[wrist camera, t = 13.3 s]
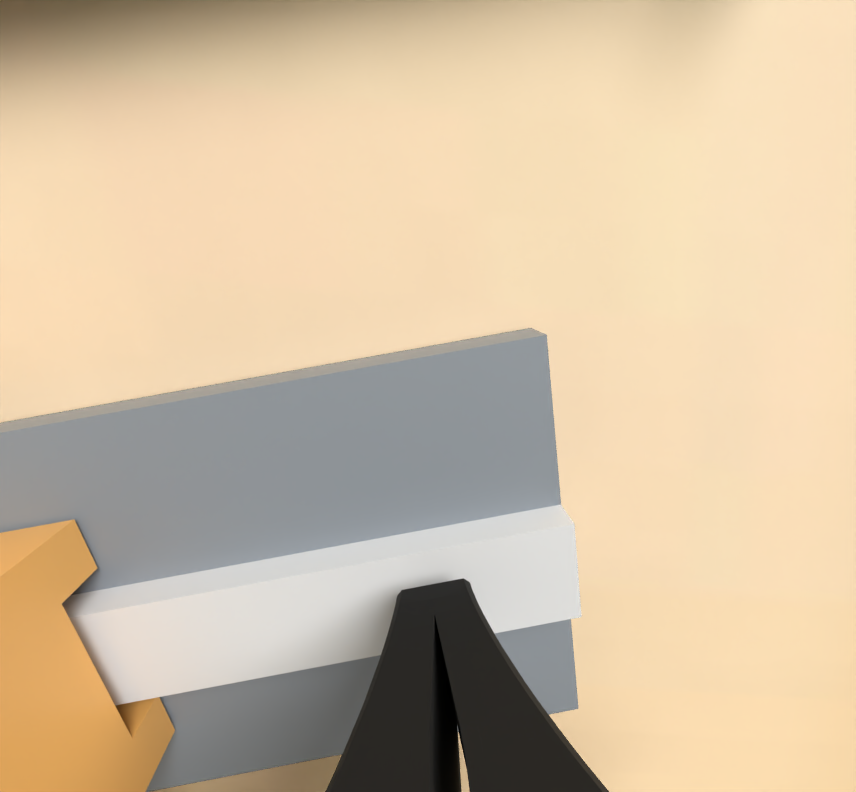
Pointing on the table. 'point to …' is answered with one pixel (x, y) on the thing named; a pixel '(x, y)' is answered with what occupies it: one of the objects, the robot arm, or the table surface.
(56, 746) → the block
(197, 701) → the backplate
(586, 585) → the table surface
